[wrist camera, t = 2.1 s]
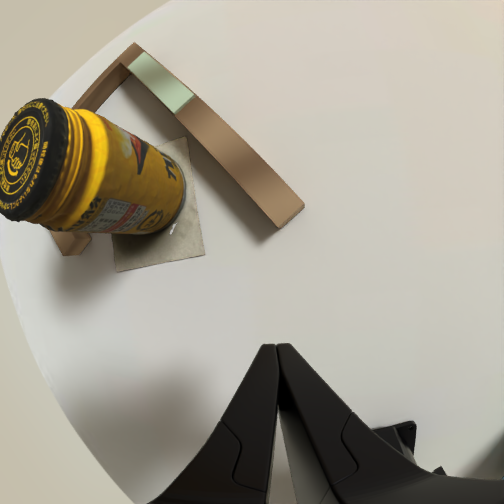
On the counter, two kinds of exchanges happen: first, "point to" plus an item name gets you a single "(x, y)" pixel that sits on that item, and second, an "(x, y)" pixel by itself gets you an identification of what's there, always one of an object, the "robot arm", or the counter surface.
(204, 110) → the rail bay
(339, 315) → the counter surface
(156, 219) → the condiment
